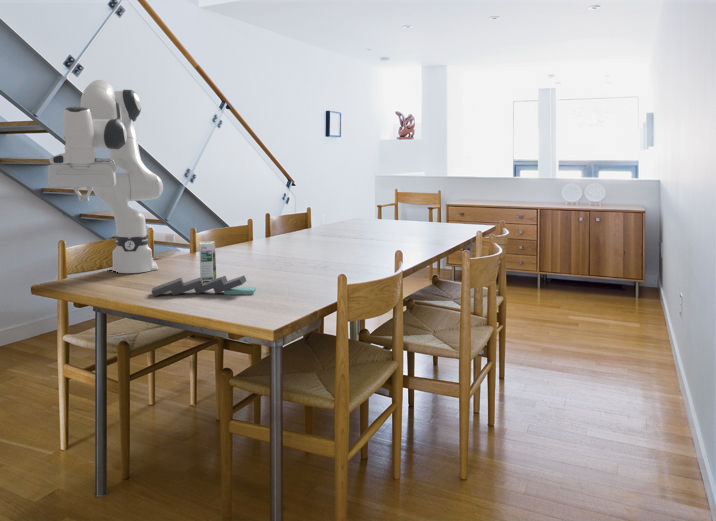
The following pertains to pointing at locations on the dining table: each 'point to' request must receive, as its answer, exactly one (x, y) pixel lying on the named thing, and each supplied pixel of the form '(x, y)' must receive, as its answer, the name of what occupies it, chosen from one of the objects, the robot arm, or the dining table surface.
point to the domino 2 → (188, 286)
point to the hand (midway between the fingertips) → (84, 200)
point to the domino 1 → (167, 287)
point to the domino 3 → (211, 284)
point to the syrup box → (207, 261)
